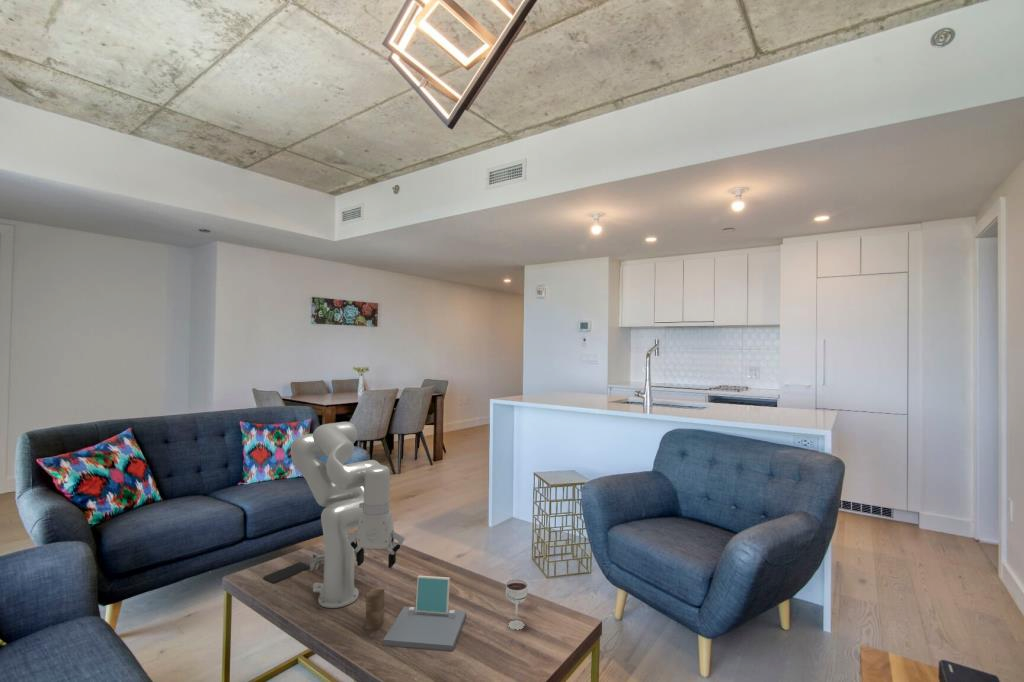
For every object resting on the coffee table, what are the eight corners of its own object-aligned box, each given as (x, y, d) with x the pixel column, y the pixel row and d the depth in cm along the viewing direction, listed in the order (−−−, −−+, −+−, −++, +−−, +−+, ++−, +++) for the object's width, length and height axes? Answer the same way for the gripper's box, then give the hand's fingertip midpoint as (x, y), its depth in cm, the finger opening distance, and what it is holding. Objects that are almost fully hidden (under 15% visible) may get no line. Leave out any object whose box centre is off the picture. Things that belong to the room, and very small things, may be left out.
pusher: (365, 629, 140) (366, 595, 140) (371, 621, 144) (371, 588, 144) (378, 630, 140) (378, 596, 140) (383, 622, 143) (384, 589, 144)
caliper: (311, 573, 174) (311, 556, 174) (309, 572, 175) (310, 555, 175) (354, 552, 192) (354, 536, 192) (352, 551, 193) (352, 536, 193)
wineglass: (502, 620, 145) (502, 581, 145) (522, 616, 147) (522, 577, 147) (509, 633, 138) (510, 592, 138) (531, 628, 141) (531, 588, 141)
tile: (416, 610, 146) (415, 611, 145) (418, 575, 148) (417, 576, 147) (448, 612, 145) (447, 614, 144) (449, 577, 147) (449, 578, 146)
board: (383, 645, 133) (383, 633, 133) (404, 611, 149) (404, 601, 149) (452, 651, 130) (452, 639, 130) (466, 616, 147) (466, 606, 147)
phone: (311, 566, 178) (273, 582, 166) (311, 568, 178) (273, 585, 166) (299, 561, 182) (261, 577, 170) (299, 563, 182) (261, 579, 169)
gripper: (343, 510, 139) (342, 569, 139) (399, 513, 137) (399, 572, 137) (354, 502, 147) (354, 557, 147) (408, 505, 145) (408, 561, 145)
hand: (375, 565), depth 142 cm, fingers open, 9 cm apart
